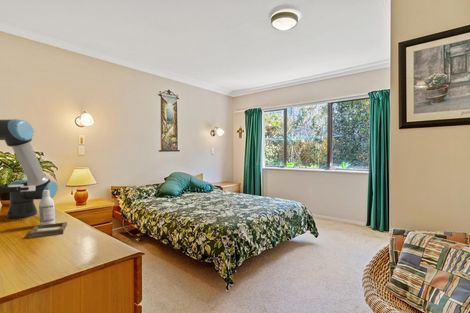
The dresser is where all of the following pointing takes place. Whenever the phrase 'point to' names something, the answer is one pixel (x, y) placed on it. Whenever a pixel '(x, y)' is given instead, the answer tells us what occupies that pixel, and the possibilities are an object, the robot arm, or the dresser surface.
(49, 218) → the bath foam
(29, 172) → the robot arm
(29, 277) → the dresser surface
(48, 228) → the tray
